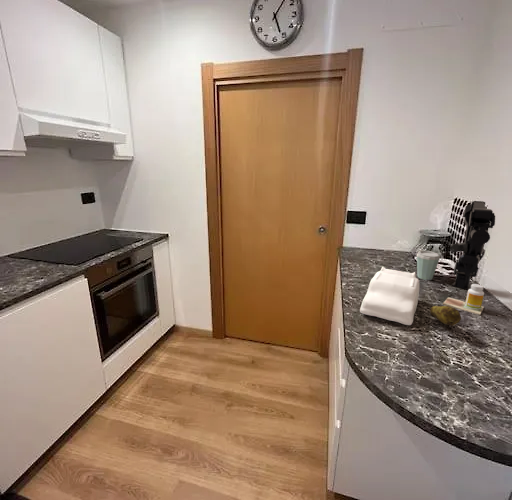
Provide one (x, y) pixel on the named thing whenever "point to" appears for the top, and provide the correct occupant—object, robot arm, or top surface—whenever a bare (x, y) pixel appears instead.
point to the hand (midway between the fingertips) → (468, 273)
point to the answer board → (460, 305)
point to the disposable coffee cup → (426, 264)
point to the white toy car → (392, 296)
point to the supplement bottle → (474, 297)
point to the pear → (446, 314)
